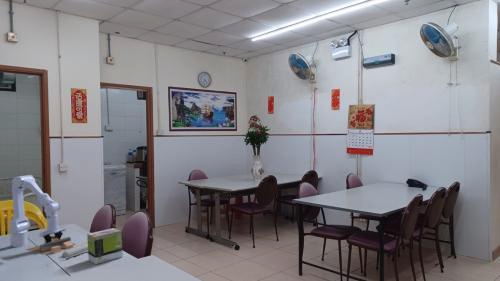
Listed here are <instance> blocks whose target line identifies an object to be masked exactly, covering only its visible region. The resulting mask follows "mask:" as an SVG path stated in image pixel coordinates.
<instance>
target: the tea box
mask: <svg viewBox="0 0 500 281" xmlns="http://www.w3.org/2000/svg"><path fill="white" fill-rule="evenodd" d="M86 236H87V238H86V239H87V243H88V250H87V251H88V252H87V256H88V261H90V262H91V263H92V264H94V265H97V264H101V263H105V262H108V261H111V260H115V259H119V258H123V257H124V256H123V255H124V254H123V239H122V231H121V230H120V229H117V228H114V227H112V228H108V229H103V230H100V231H94V232H90V233H87V234H86Z"/></svg>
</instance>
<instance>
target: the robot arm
mask: <svg viewBox="0 0 500 281" xmlns="http://www.w3.org/2000/svg"><path fill="white" fill-rule="evenodd" d="M11 186H12V187H11V193H12V207H13V208H12V209H13V218H12V219H11V221H9V227H8V231H9V233H10V234H11V235H10V238H9V239H10V241H9V242H10V247H11V246H12V247H13V248H21V247H25V246H28V232H29V229H30V228H31V223H30V221H29V218H28V217H27V216H25V215H26V214H25V202H24V191H25V190H26V189H29V191H31V192H32V193H33V194H34V195H35V196H36V197H37V201H38V202H39V204H41V206H43V207H44V209H43V211H44V213H45V216H46V231H43V232H40V233H39V234H38V235H39V236H38V237H40V238H43V239H44V241H45V240H46V243H49V242H51V238H52V236H55V237H57V238H58V240H60V239H62V236H63V235H64V234H63V232H66V231H67V230H66V229H67V228H66V227H64V226H63V227H59V211H60V208H61V206H60V205H61V204H60V203H59V202H58V201H55V200H53V199H52V198H51V196H50V195H49V193H46V192H43V191H42V189H41V188H40V187H39V185H38V183H36V178H34V176H33V175H32V174H26V175H19V176H17V175H16V176H15V177H14V178H13V179H12V180H11ZM50 235H52V236H50Z"/></svg>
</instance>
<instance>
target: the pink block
mask: <svg viewBox="0 0 500 281" xmlns="http://www.w3.org/2000/svg"><path fill="white" fill-rule="evenodd" d="M61 252H62V249H61V246H55V247H51V252H50V253H51V254H57V253H61Z"/></svg>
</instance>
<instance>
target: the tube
mask: <svg viewBox="0 0 500 281" xmlns="http://www.w3.org/2000/svg"><path fill="white" fill-rule="evenodd" d="M86 253H88V242H85V243H83V244H80V245H77V246H73V247H72V248H68V249H65V250H64V251H63V252H62V254H61V256H62V257H63V258H64V260H70V259H73V258H75V257H77V256H80V255H83V254H86Z"/></svg>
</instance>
